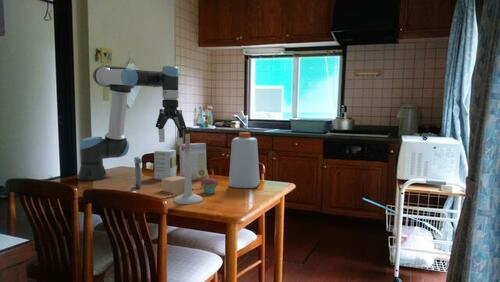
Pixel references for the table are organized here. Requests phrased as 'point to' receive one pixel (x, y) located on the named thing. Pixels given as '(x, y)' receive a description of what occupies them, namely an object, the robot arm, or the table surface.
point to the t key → (137, 172)
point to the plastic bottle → (244, 162)
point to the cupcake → (209, 184)
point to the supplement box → (165, 164)
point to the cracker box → (194, 161)
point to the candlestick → (188, 179)
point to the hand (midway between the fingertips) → (170, 143)
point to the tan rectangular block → (173, 185)
